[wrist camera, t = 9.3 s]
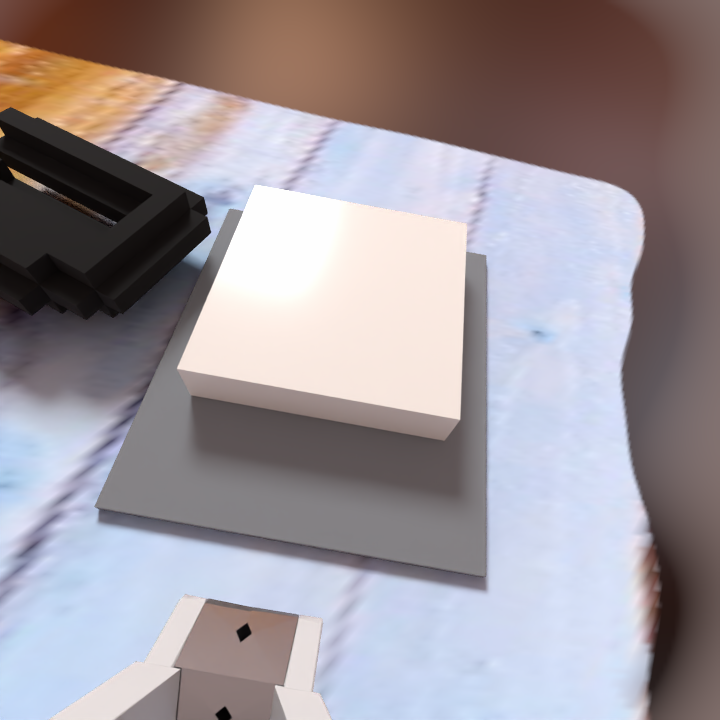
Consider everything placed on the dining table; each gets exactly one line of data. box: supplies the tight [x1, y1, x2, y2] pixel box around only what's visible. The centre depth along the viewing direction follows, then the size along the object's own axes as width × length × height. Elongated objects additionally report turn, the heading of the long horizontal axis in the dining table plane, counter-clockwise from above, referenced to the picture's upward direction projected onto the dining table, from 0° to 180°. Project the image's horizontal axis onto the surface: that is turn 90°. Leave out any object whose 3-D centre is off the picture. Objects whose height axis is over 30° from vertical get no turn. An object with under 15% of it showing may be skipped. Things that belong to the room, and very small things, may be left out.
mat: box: [94, 209, 486, 577], centre depth 23 cm, size 18×16×1 cm
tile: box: [177, 185, 467, 441], centre depth 23 cm, size 3×12×12 cm
